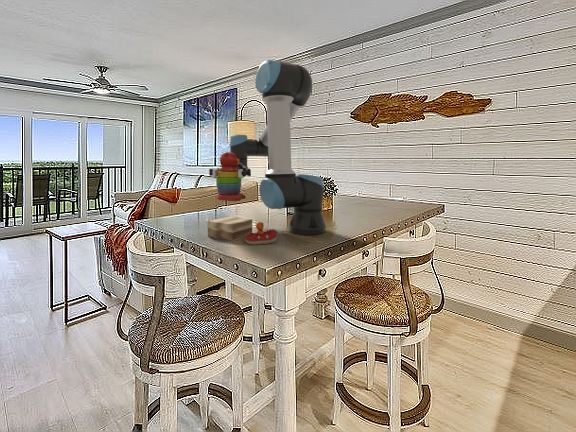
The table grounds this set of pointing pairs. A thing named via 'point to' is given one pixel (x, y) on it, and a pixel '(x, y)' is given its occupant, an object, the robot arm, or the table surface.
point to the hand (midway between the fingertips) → (226, 173)
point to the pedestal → (229, 228)
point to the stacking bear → (229, 178)
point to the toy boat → (261, 236)
